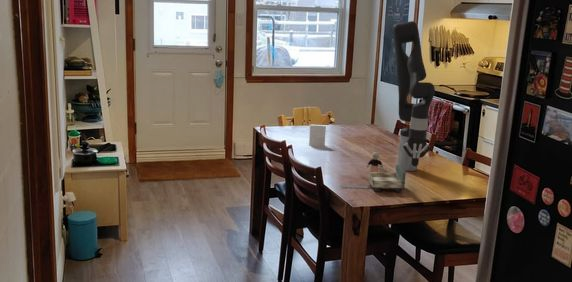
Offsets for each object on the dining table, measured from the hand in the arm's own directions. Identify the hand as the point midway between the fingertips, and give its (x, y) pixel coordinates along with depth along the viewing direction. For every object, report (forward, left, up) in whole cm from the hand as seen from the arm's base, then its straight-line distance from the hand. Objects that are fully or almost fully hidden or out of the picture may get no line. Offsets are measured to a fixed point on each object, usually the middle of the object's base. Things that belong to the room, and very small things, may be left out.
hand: (414, 166), depth 261 cm
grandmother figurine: (+14, -15, -11) cm, 23 cm away
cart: (+12, 0, -11) cm, 16 cm away
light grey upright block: (+35, -77, -11) cm, 85 cm away
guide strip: (+19, 0, -11) cm, 22 cm away
